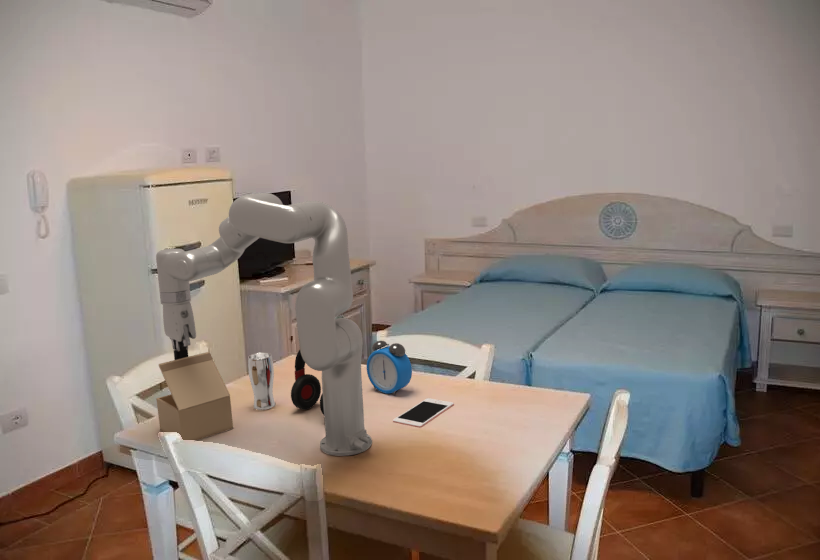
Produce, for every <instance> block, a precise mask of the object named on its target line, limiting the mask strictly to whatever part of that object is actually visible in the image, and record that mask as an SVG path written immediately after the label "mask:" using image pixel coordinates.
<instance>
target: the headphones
mask: <svg viewBox="0 0 820 560" xmlns="http://www.w3.org/2000/svg"><path fill="white" fill-rule="evenodd" d="M305 367H306V363H305V361H304V360H303V358H302V355H301V352H300V349H299V350H298V352H297V353H296V356H295V361H294V380H295V381H294V382H293V384H292V387H291V389H290V399H291V402H292V404H293V406H294V407H296V408H297V409H299V410H309V409H312V408H313V407H314V406H315V405H316V404H317V402H318V401H319V410H320V412H321V414H322V416H324V406H323V393H322V384H321V382H320V380H319V378H317V376H315V375H313V374H307V373H306V371H305V369H306V368H305Z"/></svg>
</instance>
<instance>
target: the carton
mask: <svg viewBox="0 0 820 560" xmlns="http://www.w3.org/2000/svg"><path fill="white" fill-rule="evenodd" d="M155 399H156V407H157V415H158V424H159V430H160V431H161V432H162V433H164V432H177V433H179V434H180V435H181V437H182V439H183V440H197V441H200V440H202V439H206V438H208V437H212V436H216V435H217V434H218V435H219V434H220V433H223V432H226V431H231V430H233V429H234V424H233V423H234V422H233V413H232V412H233V411H232V405H231V404H232V403H231V395H230V396H229V397H225V398H222V399H219V400H215V401H212V402H209V403H205V404H202V405H198V406H195V407H192V408H188V409H185V410H182V411H179V410H178V408H177V406H176V403H175V401H174V399H173V397H172V394H171V393H170V394H166V395H163V396H160V397H157V398H155Z"/></svg>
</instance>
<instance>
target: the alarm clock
mask: <svg viewBox="0 0 820 560" xmlns="http://www.w3.org/2000/svg"><path fill="white" fill-rule="evenodd" d="M371 351H372V352H371V354H370V355H369V356H368V358H367V361H366V373H367V377H368V380H369V382H370V384H371V385H372V386H373V387H374V388H375V389H376V392H381V393H382V394H383V393H384V394H393V396H396V393H395V392H397V391H399V390H401V389H404V388H405V387H407V386H408V385H409V383H410V382H411V379H412V376H413V375H412V374H413V368H412V364H411V361H410V358H409V356H408V355H407V354H406V349H405V347H404V346H403V345H402V344H401V343H397V342H395V343H392V344H390V343H387V342H386V341H385V340H376V341H375V342H374V343H373V344H372V345H371Z"/></svg>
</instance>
